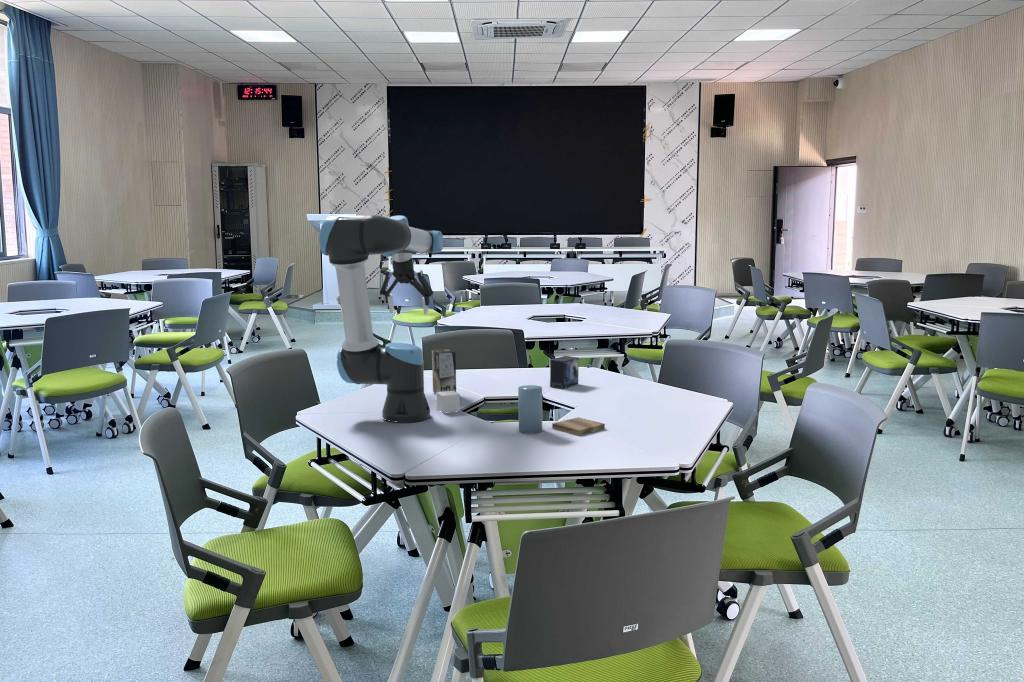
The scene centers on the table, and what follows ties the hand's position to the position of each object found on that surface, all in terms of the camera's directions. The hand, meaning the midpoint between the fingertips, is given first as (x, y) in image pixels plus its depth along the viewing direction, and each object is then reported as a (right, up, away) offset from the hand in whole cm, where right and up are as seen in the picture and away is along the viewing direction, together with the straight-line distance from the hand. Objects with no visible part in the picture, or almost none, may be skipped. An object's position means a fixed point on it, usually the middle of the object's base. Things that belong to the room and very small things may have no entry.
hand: (409, 312), depth 302 cm
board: (+58, -37, -61) cm, 92 cm away
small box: (+58, -28, 0) cm, 64 cm away
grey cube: (+18, -34, -36) cm, 53 cm away
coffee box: (+14, -30, -13) cm, 36 cm away
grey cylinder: (+44, -37, -62) cm, 85 cm away
